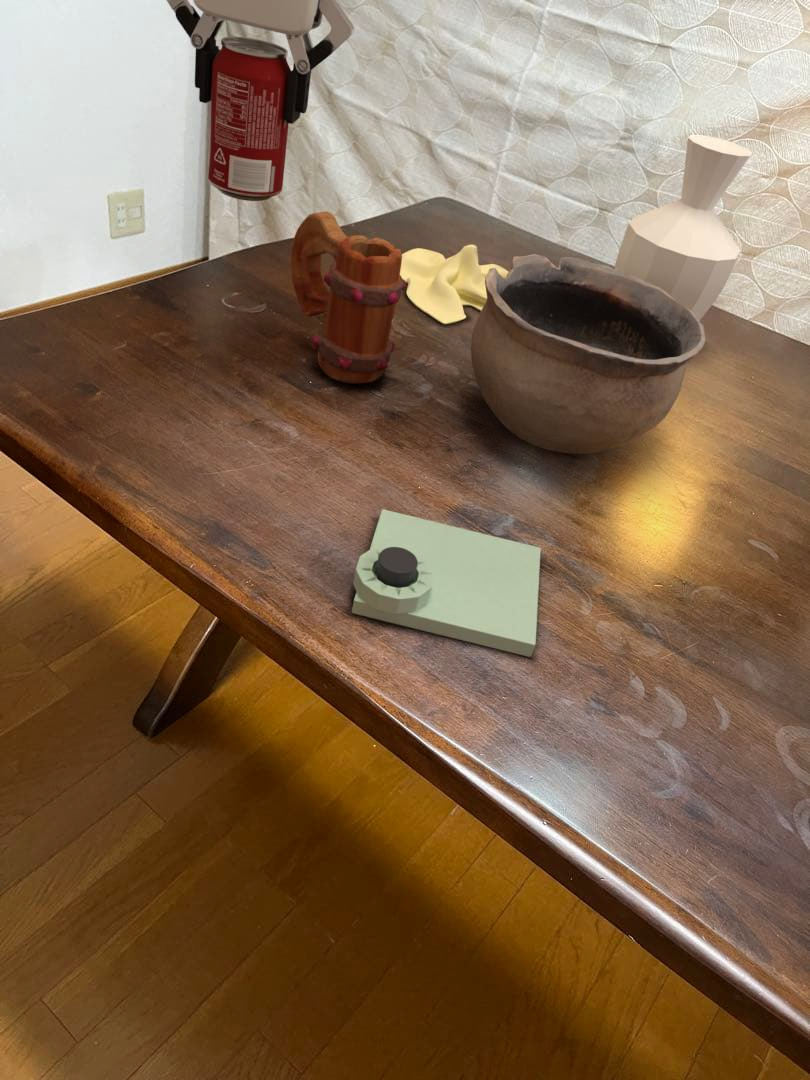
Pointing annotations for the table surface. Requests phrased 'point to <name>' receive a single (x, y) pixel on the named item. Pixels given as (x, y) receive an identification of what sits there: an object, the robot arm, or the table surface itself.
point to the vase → (688, 230)
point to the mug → (347, 297)
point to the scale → (454, 584)
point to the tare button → (396, 567)
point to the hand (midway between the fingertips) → (250, 108)
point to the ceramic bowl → (580, 353)
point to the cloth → (446, 282)
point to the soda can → (248, 119)
